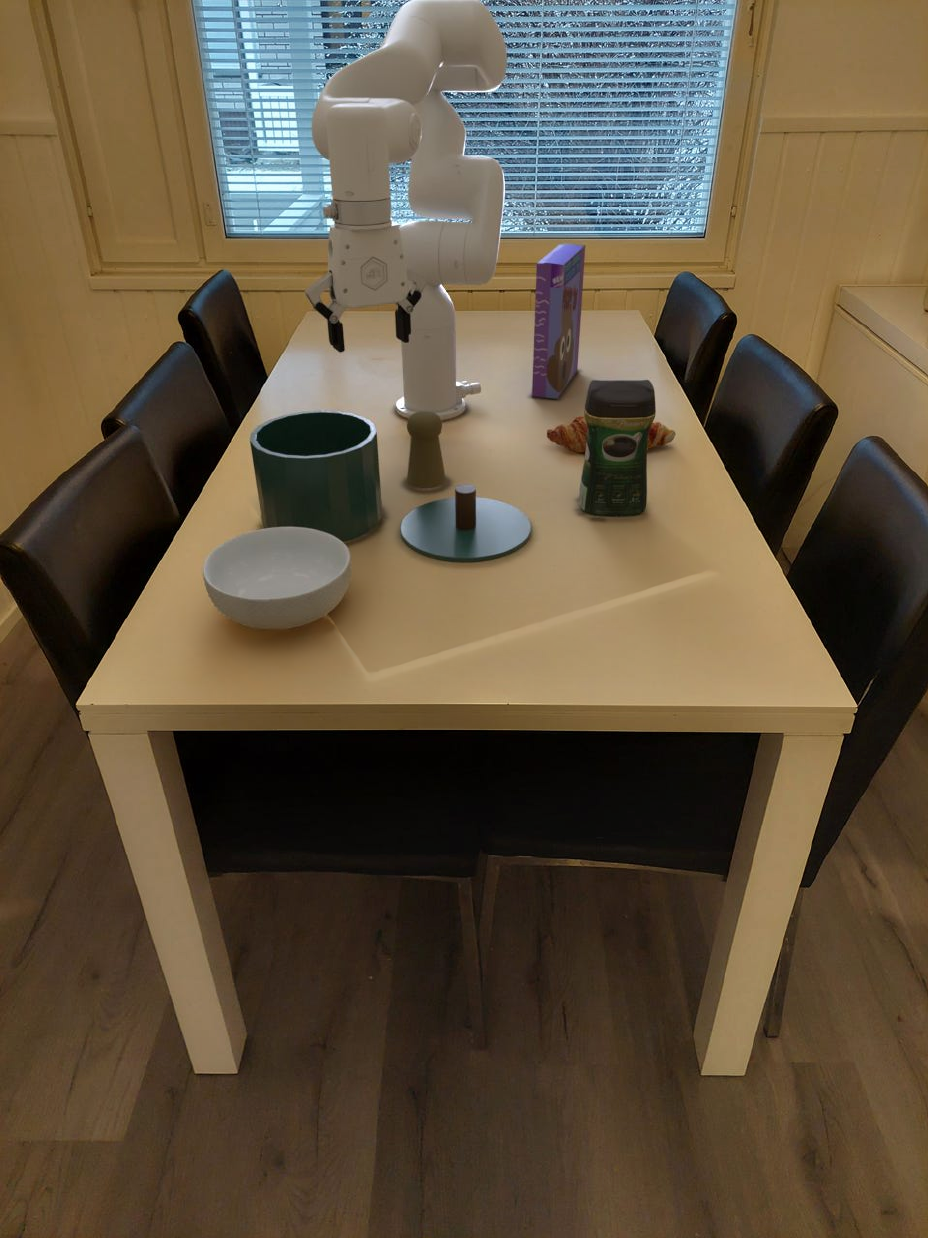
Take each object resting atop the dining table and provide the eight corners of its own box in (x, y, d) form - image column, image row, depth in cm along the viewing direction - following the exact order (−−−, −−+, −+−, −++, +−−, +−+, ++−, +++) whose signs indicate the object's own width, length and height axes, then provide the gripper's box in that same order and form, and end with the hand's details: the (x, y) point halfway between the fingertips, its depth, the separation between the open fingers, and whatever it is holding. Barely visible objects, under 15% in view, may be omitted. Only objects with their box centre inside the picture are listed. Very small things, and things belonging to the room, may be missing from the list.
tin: (356, 485, 134) (349, 402, 126) (400, 531, 121) (395, 442, 114) (249, 509, 127) (235, 423, 120) (284, 559, 115) (271, 467, 108)
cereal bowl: (289, 669, 95) (281, 614, 91) (181, 624, 103) (170, 572, 99) (382, 597, 107) (379, 546, 103) (280, 561, 115) (273, 513, 111)
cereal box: (556, 399, 164) (563, 263, 150) (531, 397, 165) (536, 261, 152) (577, 370, 177) (585, 243, 164) (554, 368, 179) (560, 242, 165)
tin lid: (491, 494, 131) (492, 452, 127) (555, 546, 117) (558, 500, 114) (380, 520, 124) (377, 477, 120) (435, 578, 111) (434, 531, 107)
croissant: (666, 457, 150) (666, 409, 149) (684, 452, 140) (685, 400, 139) (542, 459, 148) (542, 410, 148) (552, 453, 138) (552, 402, 138)
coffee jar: (641, 495, 130) (655, 371, 120) (648, 520, 123) (663, 391, 113) (575, 495, 130) (583, 371, 120) (579, 520, 124) (588, 391, 113)
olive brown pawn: (441, 493, 131) (439, 423, 125) (402, 490, 132) (398, 420, 126) (450, 476, 136) (448, 408, 130) (412, 473, 137) (409, 405, 131)
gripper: (307, 223, 109) (321, 361, 118) (434, 211, 115) (437, 343, 124) (289, 214, 114) (303, 346, 124) (411, 203, 121) (416, 330, 130)
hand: (371, 344), depth 124 cm, fingers open, 9 cm apart
